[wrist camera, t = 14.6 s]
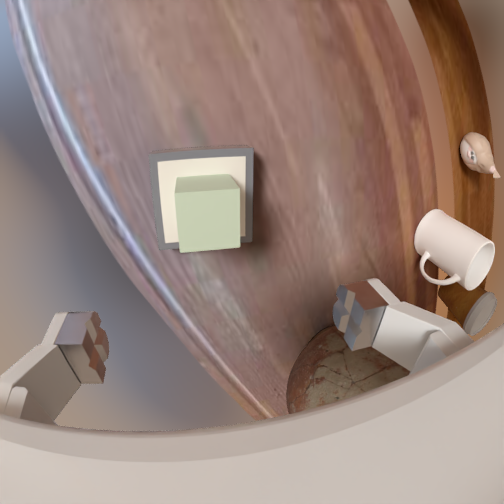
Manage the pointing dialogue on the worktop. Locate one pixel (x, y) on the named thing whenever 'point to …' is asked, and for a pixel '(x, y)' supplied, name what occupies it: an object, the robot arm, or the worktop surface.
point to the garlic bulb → (477, 154)
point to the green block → (207, 212)
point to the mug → (453, 250)
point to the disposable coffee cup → (468, 305)
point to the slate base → (194, 164)
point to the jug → (336, 372)
